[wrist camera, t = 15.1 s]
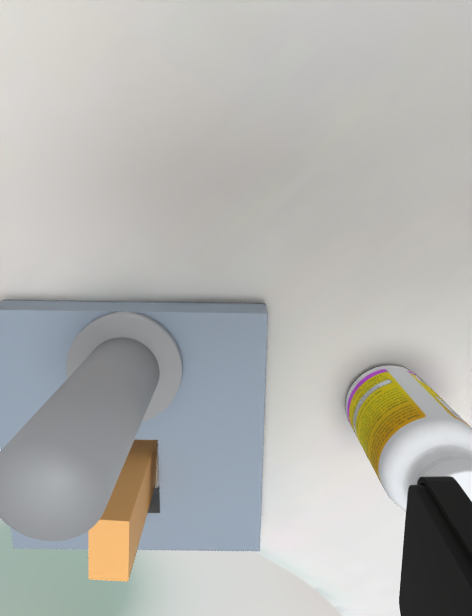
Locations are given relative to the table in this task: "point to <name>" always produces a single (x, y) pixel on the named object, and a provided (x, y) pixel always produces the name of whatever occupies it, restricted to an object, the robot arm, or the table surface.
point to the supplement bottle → (408, 431)
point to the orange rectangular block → (124, 516)
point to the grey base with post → (132, 418)
